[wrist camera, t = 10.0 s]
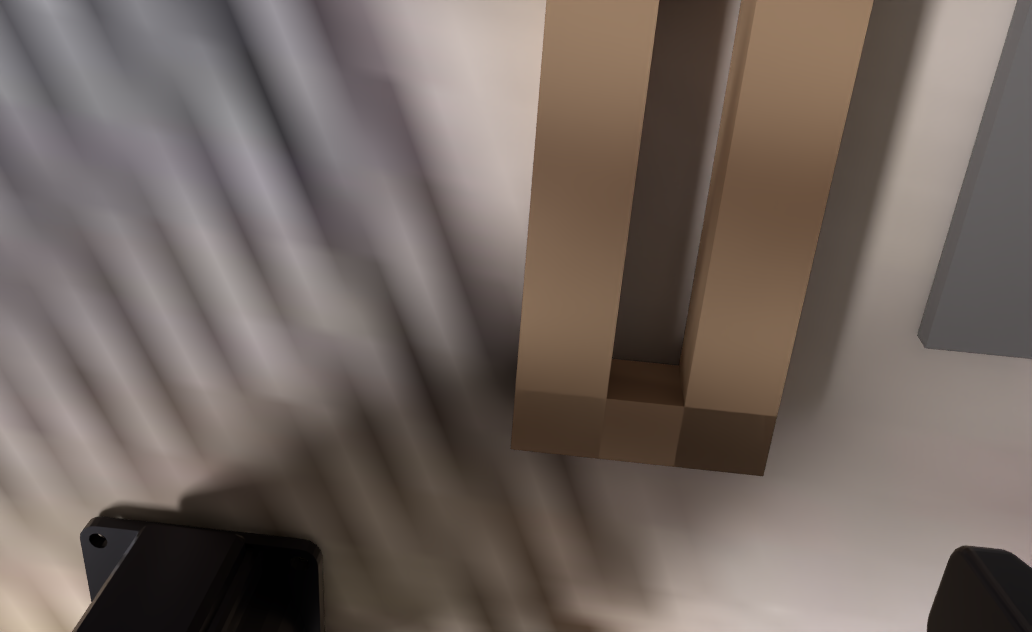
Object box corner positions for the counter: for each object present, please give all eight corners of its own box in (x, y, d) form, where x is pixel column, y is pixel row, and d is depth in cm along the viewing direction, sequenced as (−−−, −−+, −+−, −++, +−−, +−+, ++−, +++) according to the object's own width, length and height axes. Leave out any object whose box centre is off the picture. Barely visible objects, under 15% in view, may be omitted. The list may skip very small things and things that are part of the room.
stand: (752, 431, 23) (763, 476, 21) (517, 406, 23) (510, 449, 22) (872, -114, 17) (898, -108, 16) (561, -138, 18) (557, -134, 16)
